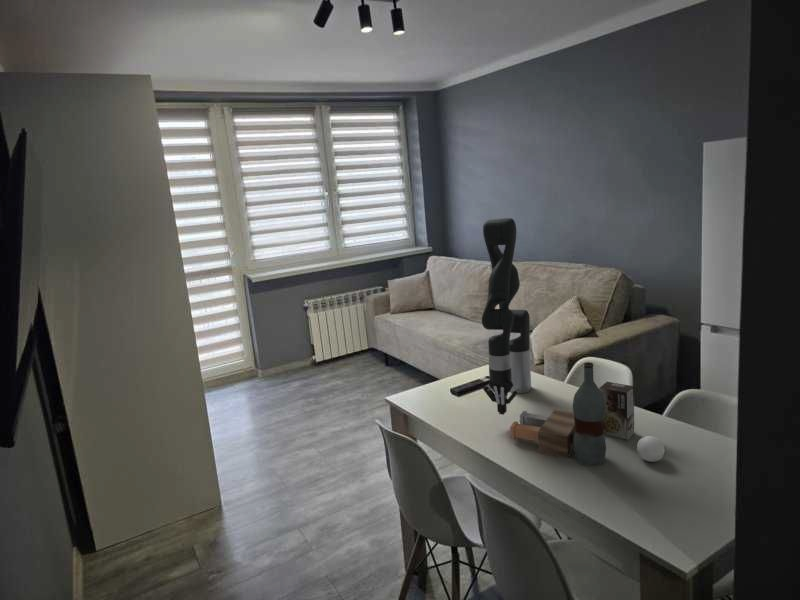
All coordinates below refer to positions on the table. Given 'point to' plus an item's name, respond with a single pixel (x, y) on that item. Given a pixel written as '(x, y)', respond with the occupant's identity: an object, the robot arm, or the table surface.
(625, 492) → the table surface
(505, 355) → the robot arm
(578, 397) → the bottle
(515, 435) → the rust plug
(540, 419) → the grey plug
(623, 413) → the coffee box
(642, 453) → the white egg
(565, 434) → the socket block
